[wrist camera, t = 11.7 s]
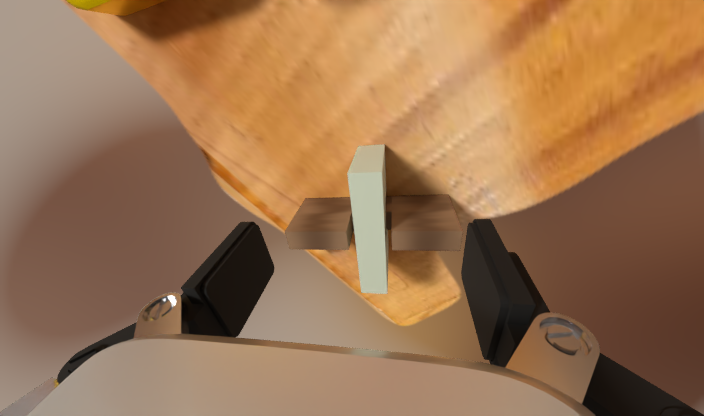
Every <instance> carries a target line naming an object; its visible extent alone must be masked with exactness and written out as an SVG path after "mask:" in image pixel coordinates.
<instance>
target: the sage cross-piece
mask: <svg viewBox="0 0 704 416" xmlns="http://www.w3.org/2000/svg"><path fill="white" fill-rule="evenodd" d="M347 174H348V182H349V191H350V199H351V208H352V216H353V225H354V233H355V242H356V251H357V259H358V268H359V276H360V285H361V293H380V294H387V288H388V230H386V209H385V203H386V168H385V144H384V145H367V146H358V148H357V150H356V153H355V155H354V158H353V161H352V163H351V166H350V168H349V171H348V173H347Z"/></svg>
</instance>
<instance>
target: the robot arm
mask: <svg viewBox="0 0 704 416" xmlns="http://www.w3.org/2000/svg"><path fill="white" fill-rule="evenodd" d="M273 273H274V264H273V262H272V259H271V257H270V254H269V251H268V249H267V246H266V244H265V241H264V238H263V236H262V233H261V231H260V228H259V226H258V225H256V224H255V223H254V222H240V223H239V224H238V226H236V228H235V229H234V230H233V231H232V232H231V233H230V234H229V235H228V236H227V237H226V239H225V240H224V241H223V242H222V243H221V244H220V245H219V246H218V247H217V249H216V250H215V251H214V252H213V253H212V254H211V255H210V256H209V257H208V258H207V259H206V261H205V262H204V263H203V264H202V265H201V266H200V267H199V268H198V269H197V270H196V272H195V273H194V274H193V275H192V276H191V277H190V278H189V279H188V280H187V282H186V283H185V284H184V285H183V286H182V287H181V289H182V290H183V294H182V295H179V294H178V293H174V292H172V293H166V294H164V295H161V296H159V297H157V298H155V299H153V300H152V301H151V302H149V303H148V304H147V305H146V306H145V307H144V308H143V309H142V310H141V312H140V313H139V315H138V318H137V322H136V323H134V324H132V325H130V326H128V327H126V328H124V329H122V330H120V331H118V332H116V333H114V334H112V335H110V336H108V337H106V338H104V339H102V340H100V341H98V342H96V343H94V344H92V345H90V346H88V347H87V348H85V349H83V350H82V351H80V352H78V353H76V354H75V355H74V356H73V357H72V358H71V359H70V360H69V361H68V362H67V363H66V364H65V365H64V367H63V368H62V369H61V370H60V372H59V374H58V378H57V379H55V378H53V377H52V378H50V379H49V380H47V381H46V382H44V383H43V384H41V385H40V386H39V387H37V388H35V389H34V390H32V391H31V392H29V393H28V394H26V395H25V396H23V397H22V398H21V399H19V400H17V401H16V402H14V403H13V404H11V405H10V406H8V407H7V408H5V409H4V410H2V411H1V412H0V416H704V415H703V414H701V413H700V412H698V411H696V410H695V409H693V408H691V407H690V406H688V405H686V404H685V403H683V402H681V401H680V400H678V399H676V398H675V397H673V396H671V395H669V394H668V393H666V392H664V391H663V390H661V389H660V388H658V387H656V386H654V385H653V384H651V383H650V382H648V381H646V380H645V379H643V378H641V377H640V376H638V375H636V374H634V373H633V372H631V371H630V370H628V369H626V368H625V367H623V366H621V365H619V364H618V363H616V362H615V361H612V360H611V359H610V358H608V357H606V356H604V355H603V354H601V353H600V347H599V344H598V342H597V339H596V338H595V337H594V335H593V334H592V333H591V332H590V331H589V330H588V329H587V328H586V327H585V326H584V325H582V324H581V323H579V322H577V321H576V320H574V319H572V318H570V317H567V316H565V315H562V314H558V313H550V311H549V309H548V307H547V306H546V304H545V302H544V300H543V299H542V297H541V295H540V293H539V291H538V290H537V288H536V287H535V285H534V283H533V281H532V279H531V277H530V276H529V274H528V272H527V270H526V269H525V267H524V265H523V263H522V262H521V260H520V258H519V256H518V255H517V254H516V253H514V252H507V250H506V248H505V246H504V244H503V242H502V240H501V238H500V236H499V235H498V233H497V231H496V229H495V227H494V225H493V223H492V221H491V220H490V219H474V221H473V223H469V224H468V228H467V235H466V242H465V249H464V257H463V264H462V272H461V274H462V280H463V284H464V288H465V292H466V296H467V299H468V303H469V307H470V310H471V314H472V318H473V321H474V325H475V329H476V333H477V336H478V340H479V344H480V347H481V351H482V355H483V357H484V359H485V360H489V361H490V364H487V363H482V362H476V361H469V360H462V359H455V358H446V357H437V356H428V355H419V354H410V353H400V352H389V351H379V350H369V349H358V348H347V347H337V346H325V345H315V344H304V343H293V342H281V341H270V340H258V339H245V338H235V337H237V336H238V335H239V334H240V332H241V330H242V328H243V327H244V325H245V323H246V321H247V319H248V317H249V316H250V314H251V312H252V310H253V309H254V307H255V305H256V303H257V302H258V300H259V298H260V296H261V294H262V293H263V291H264V289H265V287H266V285H267V284H268V282H269V280H270V278H271V276H272V275H273Z"/></svg>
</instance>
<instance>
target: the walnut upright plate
mask: <svg viewBox="0 0 704 416" xmlns="http://www.w3.org/2000/svg"><path fill="white" fill-rule="evenodd" d="M385 209H386V230H392V250H422V251H460V249H461V242H462V235H463V230H462V228H461V225H460V223H459V220H458V218H457V215H456V213H455V210H454V208H453V205H452V203H451V200H450V198H449V195H416V196H386V203H385ZM353 230H354V225H353V216H352V208H351V199H350V197H341V198H305V200H304V201H303V203H302V205H301V206H300V208H299V210H298V211H297V213H296V214H295V216H294V218H293V219H292V221H291V222H290V224H289V226H288V227H287V229H286V230H285V234H286V238H287V241H288V245H289V248H290V249H319V250H349V246H350V242H351V238H352V233H353Z"/></svg>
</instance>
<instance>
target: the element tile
mask: <svg viewBox="0 0 704 416" xmlns="http://www.w3.org/2000/svg"><path fill="white" fill-rule="evenodd" d="M66 1H67V2H68V3H70V4H71V5H73V6H74V7H76V8H78V9H82V10H87V11H94V12H100V13H107V14H114V15H120V16H127V15H129V14H132V13H135V12H137V11H140V10H143V9H145V8H148V7H151V6H153V5H156V4H159V3H161V2H164V1H167V0H66Z"/></svg>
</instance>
